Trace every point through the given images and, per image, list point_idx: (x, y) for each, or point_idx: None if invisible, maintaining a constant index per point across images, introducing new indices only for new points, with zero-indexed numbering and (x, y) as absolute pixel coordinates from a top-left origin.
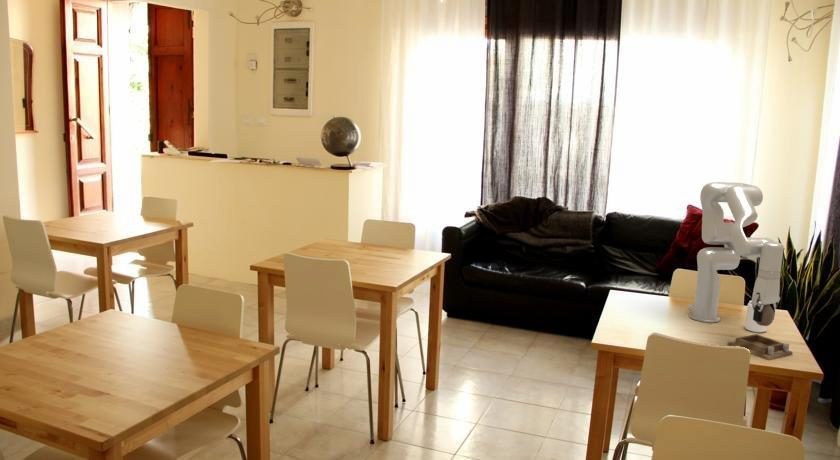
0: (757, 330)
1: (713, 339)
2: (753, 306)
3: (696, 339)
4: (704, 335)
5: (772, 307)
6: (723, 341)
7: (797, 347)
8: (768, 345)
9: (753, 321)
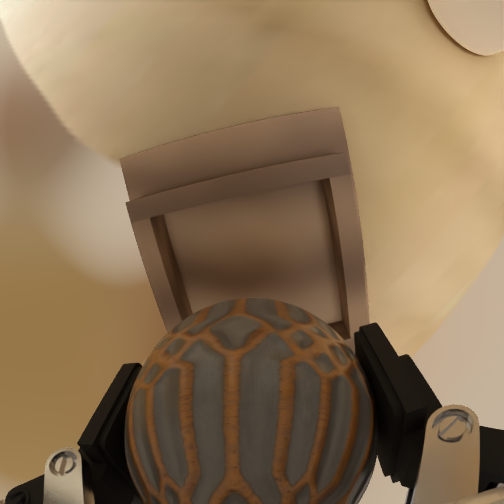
0: (456, 37)
1: (117, 67)
2: (19, 502)
3: (44, 72)
4: (120, 10)
5: (410, 483)
6: (147, 99)
7: (472, 268)
8: (332, 259)
9: (463, 2)
